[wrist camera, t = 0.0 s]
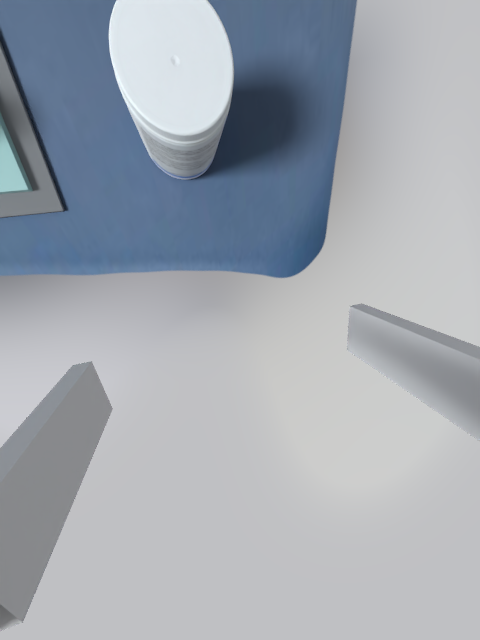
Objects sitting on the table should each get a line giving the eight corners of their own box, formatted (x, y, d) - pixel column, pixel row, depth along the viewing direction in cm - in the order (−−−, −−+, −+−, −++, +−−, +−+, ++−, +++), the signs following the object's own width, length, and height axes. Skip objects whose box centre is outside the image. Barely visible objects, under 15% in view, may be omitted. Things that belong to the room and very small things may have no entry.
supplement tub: (227, 158, 32) (258, 101, 19) (173, 194, 32) (166, 164, 19) (187, 78, 28) (189, -67, 15) (125, 120, 28) (72, 13, 15)
